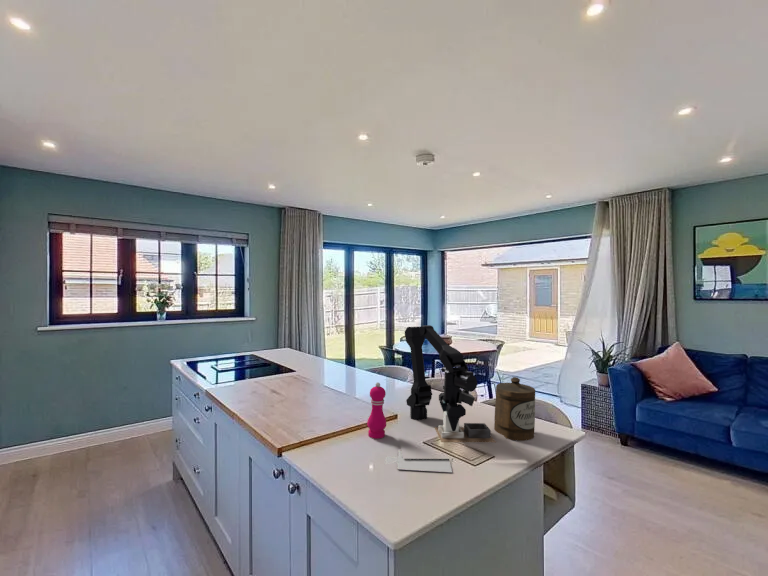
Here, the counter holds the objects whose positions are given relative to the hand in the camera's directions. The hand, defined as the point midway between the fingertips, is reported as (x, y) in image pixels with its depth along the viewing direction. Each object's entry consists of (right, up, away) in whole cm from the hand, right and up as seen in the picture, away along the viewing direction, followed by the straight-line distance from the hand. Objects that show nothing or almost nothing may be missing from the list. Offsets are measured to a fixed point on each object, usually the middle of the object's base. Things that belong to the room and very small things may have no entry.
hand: (450, 426), depth 141 cm
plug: (0, -3, 0) cm, 3 cm away
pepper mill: (-28, -4, 0) cm, 28 cm away
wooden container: (+26, -5, +5) cm, 27 cm away
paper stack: (-17, -4, -25) cm, 30 cm away
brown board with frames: (+5, -4, 0) cm, 6 cm away
